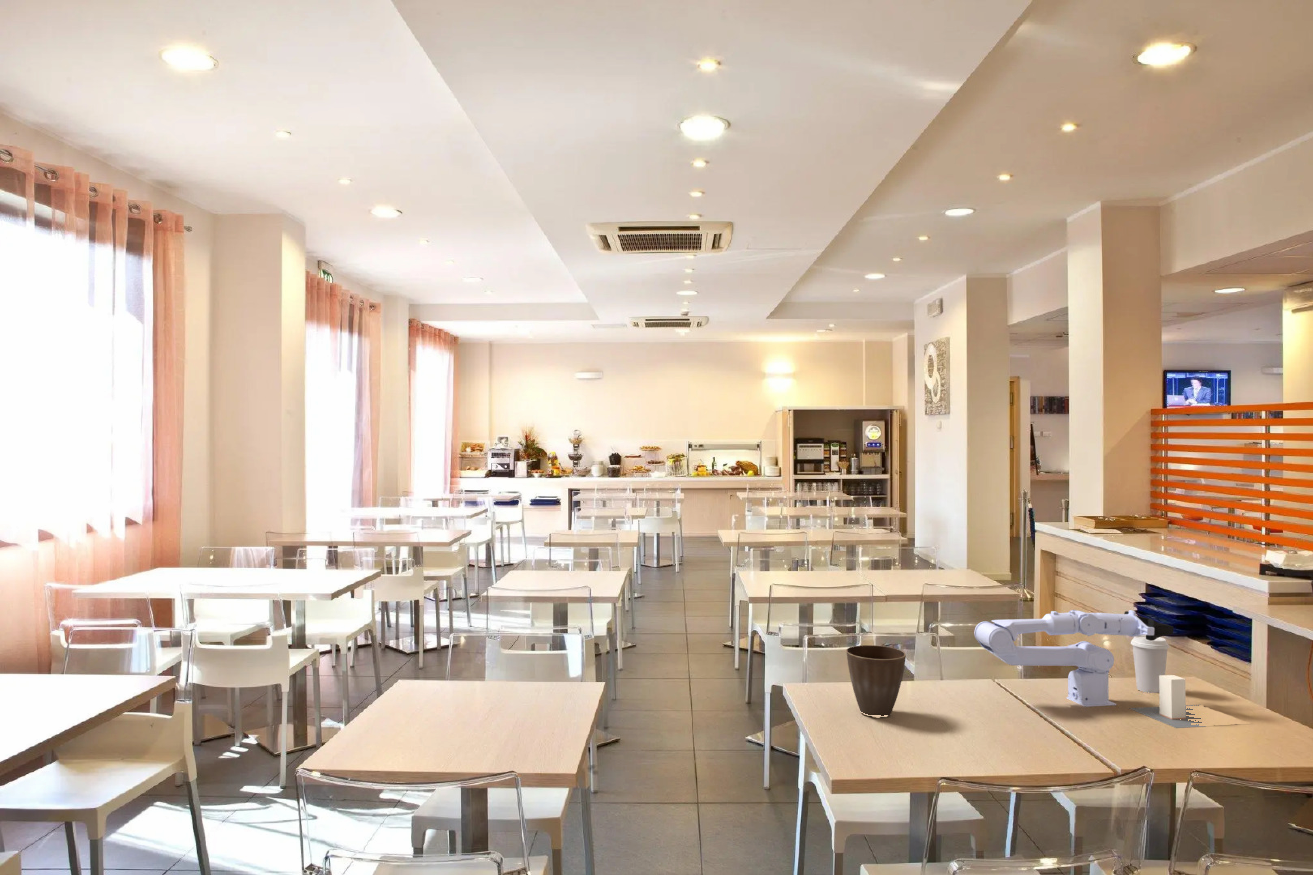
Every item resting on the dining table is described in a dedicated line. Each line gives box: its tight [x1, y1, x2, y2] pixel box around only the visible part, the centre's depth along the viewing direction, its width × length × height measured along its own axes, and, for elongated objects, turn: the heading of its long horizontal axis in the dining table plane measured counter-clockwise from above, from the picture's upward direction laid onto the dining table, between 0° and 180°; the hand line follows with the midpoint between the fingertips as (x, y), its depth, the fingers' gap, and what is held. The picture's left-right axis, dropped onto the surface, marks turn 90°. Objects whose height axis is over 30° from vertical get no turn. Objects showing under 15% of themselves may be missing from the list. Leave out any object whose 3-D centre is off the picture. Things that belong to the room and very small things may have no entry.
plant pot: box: [845, 644, 907, 716], centre depth 212 cm, size 15×15×16 cm
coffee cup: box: [1130, 635, 1170, 694], centre depth 235 cm, size 10×10×15 cm
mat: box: [1128, 704, 1206, 729], centre depth 211 cm, size 22×16×1 cm
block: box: [1158, 674, 1187, 719], centre depth 210 cm, size 4×4×10 cm
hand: (1162, 626), depth 224 cm, fingers open, 7 cm apart
